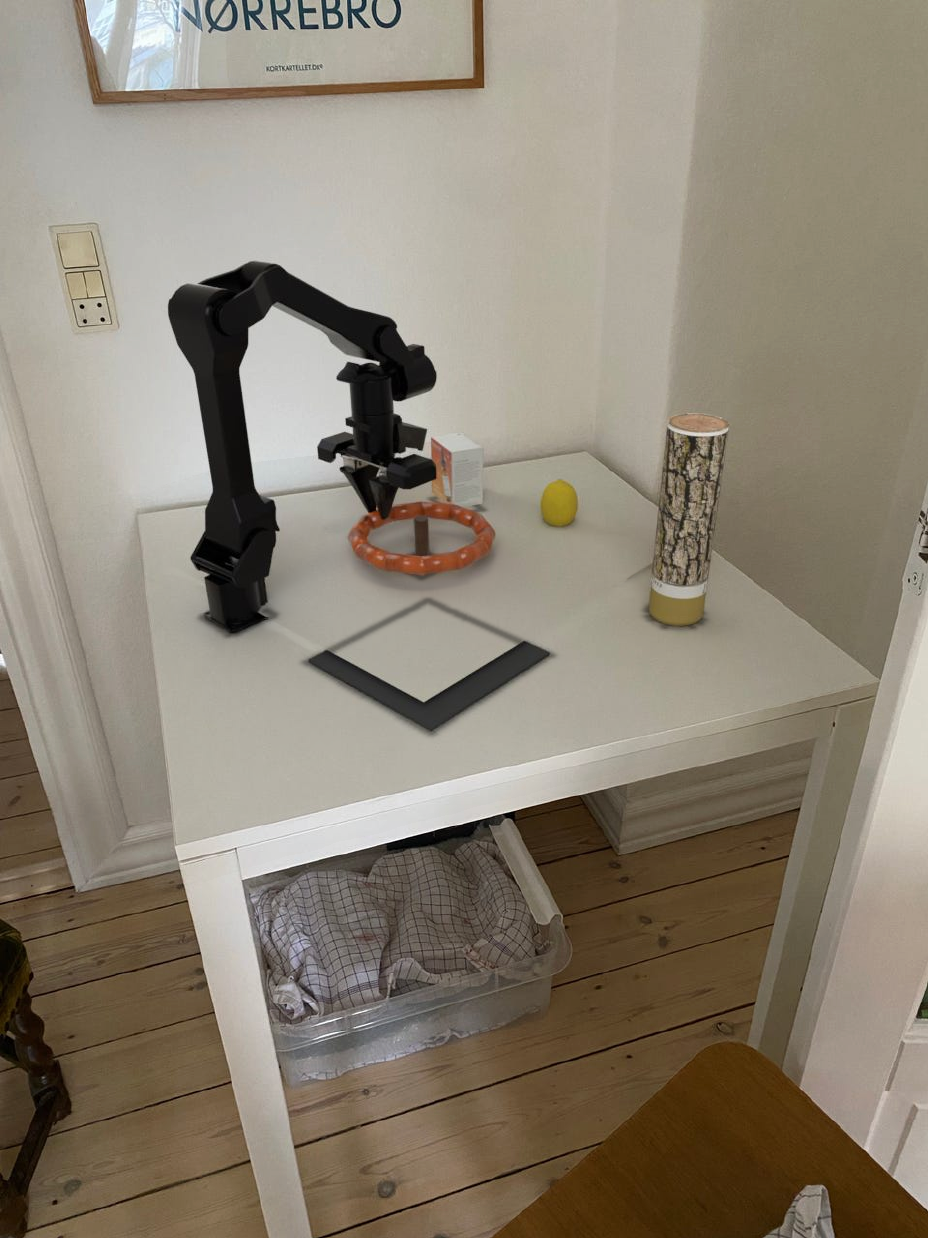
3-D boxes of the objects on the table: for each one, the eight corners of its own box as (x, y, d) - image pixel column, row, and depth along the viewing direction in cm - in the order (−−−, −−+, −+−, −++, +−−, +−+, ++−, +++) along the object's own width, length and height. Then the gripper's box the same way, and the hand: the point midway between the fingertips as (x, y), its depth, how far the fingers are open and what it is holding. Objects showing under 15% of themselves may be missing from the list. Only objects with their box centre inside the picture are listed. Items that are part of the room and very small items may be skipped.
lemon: (576, 522, 141) (579, 473, 137) (576, 537, 136) (579, 486, 132) (540, 521, 142) (541, 472, 138) (539, 536, 137) (540, 485, 133)
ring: (422, 592, 116) (422, 575, 114) (320, 545, 127) (319, 529, 126) (522, 541, 128) (523, 526, 127) (421, 503, 140) (421, 488, 139)
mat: (430, 731, 96) (430, 728, 95) (308, 662, 107) (308, 659, 107) (549, 654, 108) (549, 652, 108) (428, 600, 120) (428, 597, 120)
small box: (431, 498, 150) (429, 436, 145) (462, 492, 152) (462, 431, 147) (451, 516, 144) (450, 451, 138) (483, 510, 146) (484, 446, 140)
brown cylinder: (422, 578, 126) (421, 531, 122) (392, 565, 129) (389, 519, 126) (452, 563, 129) (452, 517, 126) (422, 551, 133) (420, 506, 129)
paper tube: (662, 632, 113) (684, 434, 100) (638, 606, 118) (657, 416, 106) (712, 624, 114) (740, 428, 102) (687, 598, 120) (710, 410, 107)
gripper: (463, 409, 124) (464, 516, 132) (369, 384, 135) (375, 484, 143) (404, 429, 117) (409, 541, 125) (310, 401, 128) (320, 505, 136)
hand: (378, 516), depth 132 cm, fingers closed on ring, 2 cm apart
